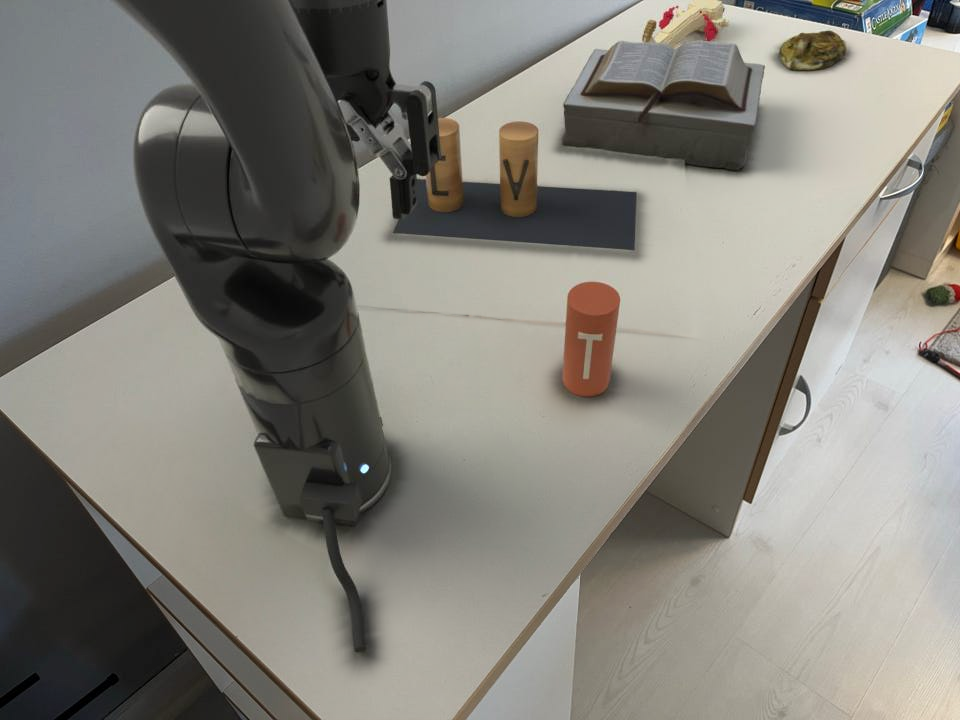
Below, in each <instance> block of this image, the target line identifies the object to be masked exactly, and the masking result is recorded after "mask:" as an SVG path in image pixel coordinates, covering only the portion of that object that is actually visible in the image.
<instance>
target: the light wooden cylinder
mask: <svg viewBox="0 0 960 720" xmlns="http://www.w3.org/2000/svg"><path fill="white" fill-rule="evenodd" d="M498 149H499V150H498V151H499V156H498V157H499V184H500V206H501V210H502V212H503V213H504V214H506V215H508V216H512V217H525V216H528V215H531V214H532V213H534V212H535V210H536V208H537V186H538V174H539V173H538V172H539V171H538V169H539V168H538V167H539V128H538V127H537V125H535V124H534V123H531V122H528V121H511V122H507V123H505V124H503V125H502V126H500V128H499V130H498Z"/></svg>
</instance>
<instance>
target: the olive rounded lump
mask: <svg viewBox="0 0 960 720" xmlns="http://www.w3.org/2000/svg"><path fill="white" fill-rule="evenodd" d="M845 42H846V41H845V40H844V39H843V38H842V37H841V36H840V34H839V33H836V32H834V31H833V30H822V31H819V32H806V33H805V32H800V33H798V34H797V35H794V36H792V37H790V38H789V39H787V40H786V41H784V42H783V43H782V45H781V46H780V48H779V52H778V59H779V60H780V62H781V63H782V64H783V65H784V66H785V67H786V68H788V69H790V70H794V71H816V70H821V69H825V68H828V67H830V66H832V65H834V64H835V63H836V62H838V61H840V60H842V59H843V58H844V56H845V54H846V52H847V47H846V43H845Z"/></svg>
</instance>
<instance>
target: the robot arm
mask: <svg viewBox="0 0 960 720" xmlns="http://www.w3.org/2000/svg"><path fill="white" fill-rule="evenodd" d="M110 1H111V3H113V4H114V5H116V6H117V7H118V8H119V9H121V11H123V12H124V13H125V14H126V15H127V16H128V17H130V18H131V19H132V20H133V21H134V22H135V23H137V24H138V26H139V27H141V28H142V29H143V30H144V31H145V32H147V34H148V35H149V36H151V37H152V38H153V39H154V40H155V41H156V43H158V44H159V45H160V46H161V47H162V48H163V50H165V51H166V52H167V53H168V54H169V55H170V57H171V58H172V59H173V60H174V61H175V63H176V64H177V65H178V67H180V69H181V70H182V71H183V72H184V73H185V75H186V76H187V78H188V79H189V80H190V81H191V82H183V83H176V84H173V85H170V86H167V87H165V88H162V89H161V90H160V91H158V92H157V93H156V94H155V95H153V96H152V97H151V98H150V99H149V101H148V102H147V103H146V104H145V106H144V108H143V109H142V111H141V113H140V114H139V118H138V120H137V122H136V126H135V131H134V135H133V144H132V166H133V176H134V182H135V186H136V191H137V195H138V198H139V201H140V204H141V208H142V211H143V213H144V216H145V219H146V220H147V224H148V225H149V228H150V231H151V232H152V234H153V236H154V239H155V241H156V243H157V245H158V247H159V249H160V251H161V253H162V254H163V256H164V258H165V261H166V262H167V265H168V266H169V268H170V270H171V272H172V274H173V277H174V278H175V280H176V282H177V284H178V287H179V288H180V289H181V291H182V294H183V295H184V297H185V299H186V303H188V305H189V308H190V309H191V312H192V313H193V315H194V316H195V318H196V319H197V321H198V322H199V323H200V324H201V325H202V326H203V328H204V329H206V330H207V331H208V332H209V333H211V334H212V335H213V336H214V337H216V339H218V341H219V344H220V346H221V348H222V352H223V354H224V356H225V358H226V360H227V363H228V365H229V367H230V370H231V372H232V376H233V378H234V381H235V383H236V385H237V387H238V390H239V392H240V395H241V398H242V400H243V402H244V405H245V407H246V409H247V412H248V414H249V417H250V420H251V422H252V424H253V426H254V429H255V431H256V434H257V435H256V437H255V439H254V441H253V449H254V450H255V453H256V455H257V457H258V459H259V462H260V465H261V467H262V469H263V471H264V474H265V476H266V478H267V481H268V483H269V486H270V488H271V491H272V492H273V495H274V497H275V499H276V502H277V504H278V507H279V509H280V511H281V514H282V516H283V517H285V518H292V519H300V520H308V521H311V522H317V523H323V529H324V538H325V545H326V550H327V555H328V558H329V562H330V565H331V568H332V570H333V572H334V574H335V576H336V578H337V580H338V581H339V583H340V585H341V586H342V588H343V590H344V592H345V595H346V598H347V601H348V606H349V610H350V616H351V630H352V631H351V632H352V642H353V650H354V652H355V653H362V652H364V651H366V650H367V643H366V635H365V634H366V633H365V622H364V613H363V608H362V602H361V599H360V595H359V592H358V588H357V587H356V584H355V582H354V580H353V579H352V577H351V575H350V573H349V572H348V570H347V568H346V567H345V564H344V561H343V558H342V554H341V551H340V547H339V542H338V541H339V539H338V534H337V525H336V524H338V525H344V526H355V525H356V524H357V523H358V521H359V520H358V519H359V517H360V515H361V514H362V513H364V512H366V511H367V510H369V509H370V508H371V507H372V506H373V505H375V504H376V503H377V502H378V501H379V500H380V499H381V497H382V496H383V495H384V494H385V492H386V490H387V488H388V487H389V483H390V481H391V477H392V471H393V466H392V460H391V455H390V452H389V450H388V449H389V448H388V447H387V442H386V438H385V432H384V430H383V427H384V424H383V420H382V417H381V414H380V409H379V405H378V399H377V395H376V390H375V386H374V381H373V377H372V371H371V367H370V362H369V357H368V353H367V349H366V343H365V342H366V341H365V337H364V334H363V333H364V332H363V328H362V324H361V323H362V322H361V318H360V314H359V309H358V305H357V300H356V296H355V292H354V288H353V285H352V283H351V281H350V279H349V277H348V275H347V274H346V273H345V271H344V270H343V269H342V268H340V267H339V265H338V264H336V262H333V261H332V260H331V259H329V258H332V257H333V256H335V255H336V254H337V253H338V252H339V251H341V250H342V248H344V247H345V246H346V244H347V243H348V242H349V240H350V239H351V236H352V234H353V233H354V230H355V227H356V224H357V221H358V215H359V211H360V210H359V209H360V198H361V197H360V191H361V184H360V174H359V167H358V162H357V157H356V151H355V147H354V144H353V142H358V143H359V141H362V143H363V144H364V145H365V148H367V150H368V151H369V153H370V154H371V155H372V156H374V157H378V158H379V159H380V160H381V161H382V162H383V164H384V165H385V167H386V168H387V169H388V172H390V174H391V176H390V177H389V187H390V198H391V199H390V200H391V213H392V219H394V220H397V221H398V220H404V219H405V217H406V216H407V215H409V214H410V213H411V211H412V210H413V209H414V207H415V206H416V204H417V202H418V192H417V179H418V178H417V177H418V176H420V177H426V175H427V174H428V173H429V172H430V170H431V168H432V167H433V166H434V165H435V163H437V162H438V161H439V159H440V158H441V148H440V136H439V125H438V118H439V116H438V104H437V94H436V93H437V92H436V87H435V85H434V84H433V83H432V82H431V81H428V80H424V81H422V82H421V83H420V84H419V85H417V86H416V85H406V84H405V85H404V84H397V82H396V80H395V79H394V77H393V75H392V72H391V66H390V65H391V63H390V62H391V43H390V41H391V40H390V29H389V15H388V3H387V0H110ZM394 104H395V105H396V106H398V108H399V109H400V112H401V118H402V119H403V120H405V121H407V125H408V135H409V140H408V139H407V137H406V135H405V129H404V127H403V124H402V123H401V122H400V121H399V119H398V118H397V116H396V115H395V113H394V112H393V110H392V109H391V108H392V106H393V105H394ZM379 125H380V126H381V129H382V131H383V133H382V135H381V134H380V133H379V132H378V130H377V128H378V127H379Z"/></svg>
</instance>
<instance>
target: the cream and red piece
mask: <svg viewBox="0 0 960 720" xmlns="http://www.w3.org/2000/svg"><path fill="white" fill-rule="evenodd" d="M675 9H676V13H675V14H674V13H673V12H674V10H675ZM686 9H687V10H685V9H683V8H680V9H679V5H676V6H672V7H669V8H668V10H666V11H664V12H663V15H662V19H661V20H659V23H658V28H659V29H660V31H658V32H657V34H656V36H655V37H653V35H654V32H655V31H656V28H657V20H654V19H649V20H648V21H646V22H647V23H646V25H645V27H644V30H643V34H642V38H641V42H642V43H654V42H656V43H664V44H667V45H669V46H671V47H672V48H673V49H675V46H676V45H678V44H679V43H680V42H681V41H682V40H684V39H685V37H688V36H689V35H690V34H692V33H693V32H696V31H700V32H704V33H705V34H704V38H705V39H703V40H702V41H709V42H713V40H714V39H716V36H717V35H718V34H719V32H720V29H724V28H728V27H729V21H730V20H728V19H726V18H724V17H723V15H724V13H725V9H726V7H725V5H724V4H723V2H722V1H721V0H692V1H691V2H689V4H687V8H686ZM674 17H676V18H675V19H674Z"/></svg>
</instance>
